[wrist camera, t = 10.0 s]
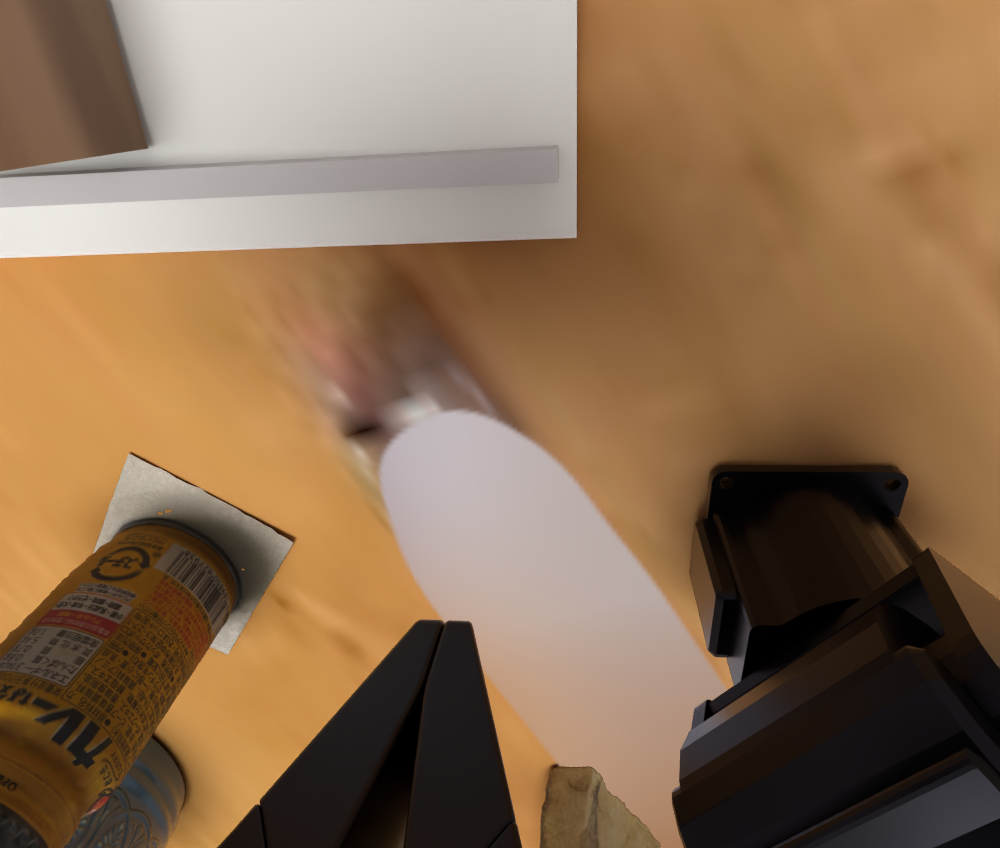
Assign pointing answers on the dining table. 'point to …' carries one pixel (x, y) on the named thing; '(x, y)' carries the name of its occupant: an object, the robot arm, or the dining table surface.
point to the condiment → (120, 647)
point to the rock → (588, 814)
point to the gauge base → (321, 130)
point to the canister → (137, 806)
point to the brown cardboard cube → (62, 85)
